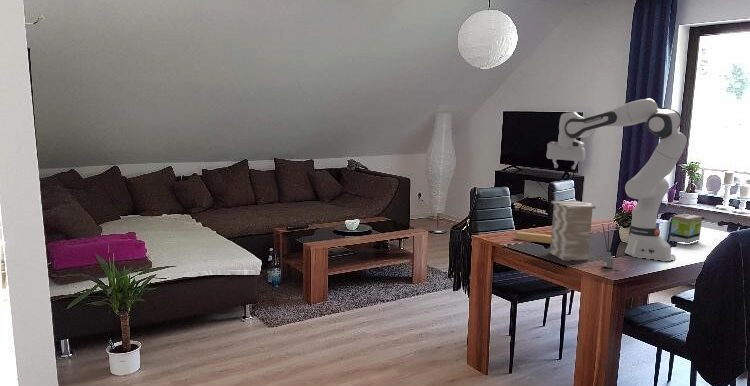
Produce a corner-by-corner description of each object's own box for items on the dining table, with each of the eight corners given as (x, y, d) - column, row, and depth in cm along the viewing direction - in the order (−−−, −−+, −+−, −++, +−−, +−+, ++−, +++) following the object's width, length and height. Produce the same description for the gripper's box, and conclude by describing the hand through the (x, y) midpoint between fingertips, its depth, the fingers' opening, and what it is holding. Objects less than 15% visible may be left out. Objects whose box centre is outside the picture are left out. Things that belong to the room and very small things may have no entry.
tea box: (688, 245, 298) (691, 218, 296) (668, 242, 306) (671, 215, 303) (699, 242, 308) (702, 215, 305) (680, 238, 315) (683, 212, 313)
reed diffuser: (595, 266, 254) (599, 223, 251) (603, 263, 258) (607, 221, 255) (616, 271, 246) (621, 227, 243) (624, 269, 250) (628, 225, 247)
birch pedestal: (547, 252, 276) (551, 200, 272) (573, 251, 279) (577, 200, 275) (564, 261, 261) (568, 206, 257) (591, 260, 263) (595, 206, 259)
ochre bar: (516, 239, 303) (516, 232, 302) (517, 238, 307) (518, 231, 306) (558, 245, 294) (559, 237, 293) (559, 243, 297) (560, 236, 297)
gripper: (545, 141, 301) (543, 167, 303) (583, 143, 288) (581, 170, 290) (549, 141, 306) (548, 166, 308) (587, 143, 293) (585, 169, 295)
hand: (564, 168), depth 299 cm, fingers open, 8 cm apart
